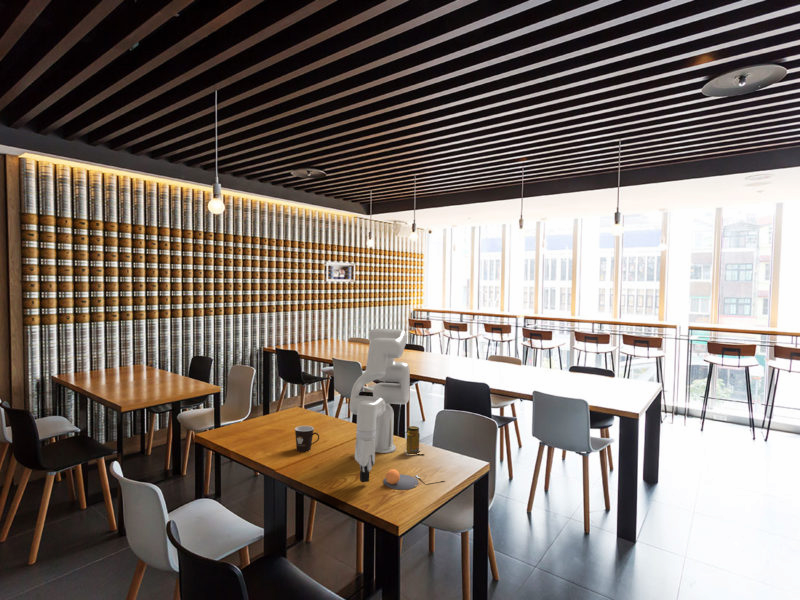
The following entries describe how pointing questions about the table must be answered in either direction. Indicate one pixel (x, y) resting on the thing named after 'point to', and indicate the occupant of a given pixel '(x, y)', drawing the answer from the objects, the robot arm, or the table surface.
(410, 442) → the condiment
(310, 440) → the coffee mug
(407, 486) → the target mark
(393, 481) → the ball
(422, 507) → the table surface
